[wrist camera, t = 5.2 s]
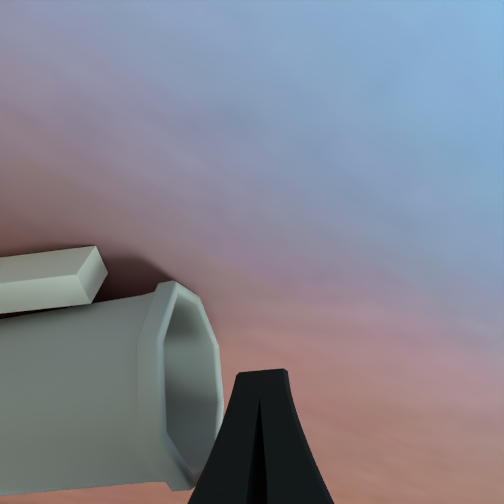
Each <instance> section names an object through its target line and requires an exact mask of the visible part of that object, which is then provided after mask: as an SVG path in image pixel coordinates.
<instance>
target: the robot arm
mask: <svg viewBox="0 0 504 504" xmlns="http://www.w3.org/2000/svg"><path fill="white" fill-rule="evenodd" d="M188 504H334V502H333V500H332V498H331V496H330V494H329V492H328V489H327V487H326V485H325V483H324V481H323V478H322V476H321V474H320V472H319V469H318V467H317V465H316V463H315V460H314V458H313V455H312V453H311V451H310V448H309V445H308V443H307V440H306V437H305V435H304V432H303V430H302V427H301V424H300V421H299V418H298V415H297V412H296V409H295V405H294V402H293V398H292V395H291V389H290V383H289V377H288V371H287V370H285V369H272V370H261V371H249V372H239V373H238V374H237V375H236V379H235V383H234V387H233V390H232V394H231V397H230V401H229V404H228V407H227V410H226V413H225V416H224V419H223V422H222V424H221V427H220V430H219V432H218V435H217V437H216V440H215V443H214V445H213V448H212V450H211V453H210V455H209V458H208V460H207V462H206V464H205V467H204V469H203V471H202V473H201V476H200V478H199V480H198V482H197V485H196V487H195V489H194V491H193V493H192V495H191V498H190V500H189V502H188Z"/></svg>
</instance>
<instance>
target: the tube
mask: <svg viewBox="0 0 504 504" xmlns="http://www.w3.org/2000/svg"><path fill="white" fill-rule="evenodd" d="M223 409H224V400H223V388H222V376H221V364H220V352H219V346H218V343H217V341H216V338H215V336H214V333H213V330H212V328H211V325H210V323H209V320H208V318H207V315H206V313H205V310H204V308H203V305H202V303H201V300H200V297H199V296H197V295H196V294H194V293H193V292H191V291H190V290H188V289H187V288H185V287H183V286H182V285H180V284H179V283H177V282H176V281H174V280H173V281H168V282H163V283H158V285H157V288H156V290H155V292H152V293H148V294H145V295H140V296H134V297H128V298H123V299H117V300H111V301H105V302H99V303H93V304H87V305H81V306H75V307H69V308H64V309H58V310H52V311H46V312H40V313H34V314H28V315H22V316H16V317H10V318H5V319H0V496H4V495H15V494H26V493H37V492H47V491H58V490H69V489H80V488H91V487H101V486H112V485H123V484H134V483H145V482H166V483H167V485H168V486H169V487H170V489H171V490H172V491H182V490H191V489H192V488H194V487H195V486H196V485H197V482H198V480H199V478H200V476H201V473H202V471H203V469H204V467H205V464H206V462H207V460H208V458H209V455H210V453H211V450H212V448H213V445H214V443H215V440H216V437H217V435H218V432H219V430H220V427H221V424H222V419H223Z"/></svg>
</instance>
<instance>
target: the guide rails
mask: <svg viewBox="0 0 504 504" xmlns="http://www.w3.org/2000/svg"><path fill="white" fill-rule="evenodd" d="M107 274H108V272H107V270H106V267H105V265H104V263H103V261H102V258H101V256H100V254H99V252H98V249H97V247H96V246H89V247H81V248H73V249H65V250H57V251H49V252H41V253H33V254H25V255H17V256H9V257H1V258H0V314H1V313H10V312H19V311H28V310H37V309H46V308H56V307H65V306H74V305H83V304H91V303H92V301H93V299H94V297H95V296H96V294H97V292H98V290H99V288H100V287H101V285H102V283H103V281H104V280H105V278H106V276H107Z"/></svg>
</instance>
